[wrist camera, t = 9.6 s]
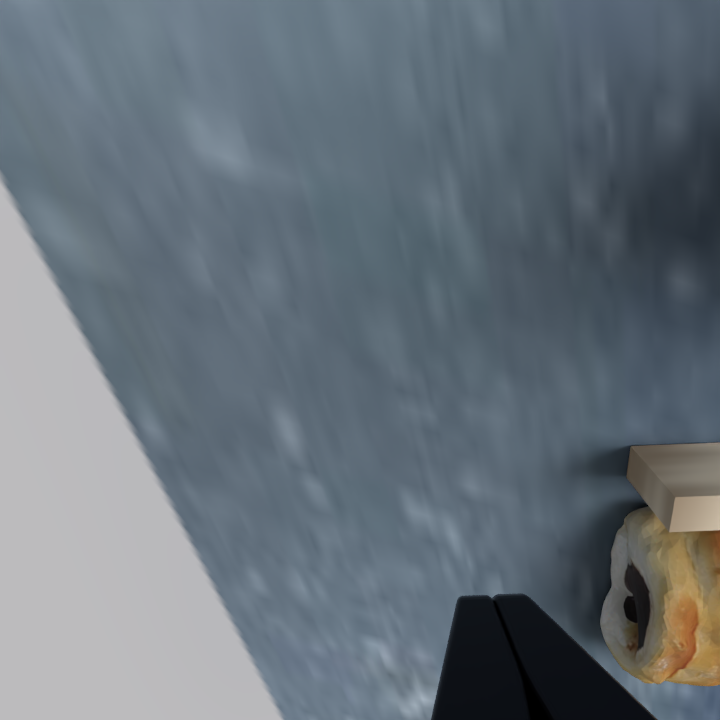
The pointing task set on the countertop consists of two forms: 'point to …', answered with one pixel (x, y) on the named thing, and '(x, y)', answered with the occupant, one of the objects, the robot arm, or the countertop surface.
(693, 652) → the pastry
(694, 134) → the countertop surface
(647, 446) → the beige piece
